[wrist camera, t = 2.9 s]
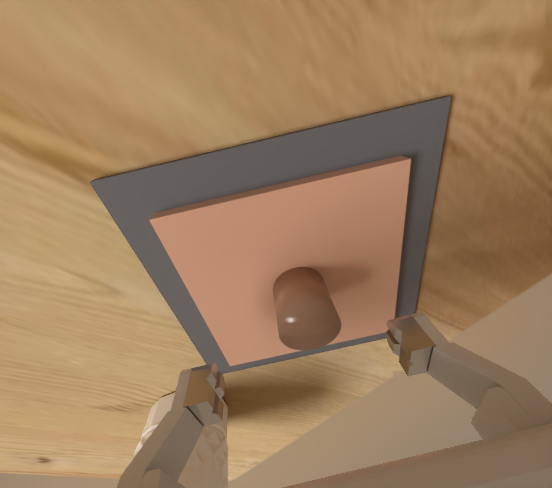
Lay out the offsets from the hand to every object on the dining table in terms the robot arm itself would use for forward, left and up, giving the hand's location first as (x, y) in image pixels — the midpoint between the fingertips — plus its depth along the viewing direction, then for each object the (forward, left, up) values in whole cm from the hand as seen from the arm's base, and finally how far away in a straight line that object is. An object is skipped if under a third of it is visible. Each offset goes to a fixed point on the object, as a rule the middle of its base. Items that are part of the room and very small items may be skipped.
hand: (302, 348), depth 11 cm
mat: (-1, -1, -5) cm, 5 cm away
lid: (-1, -1, -4) cm, 4 cm away
